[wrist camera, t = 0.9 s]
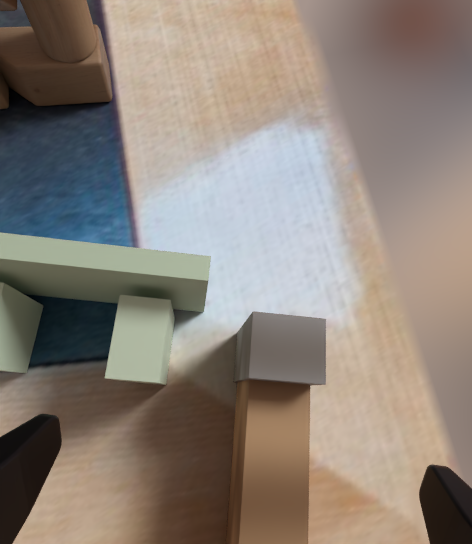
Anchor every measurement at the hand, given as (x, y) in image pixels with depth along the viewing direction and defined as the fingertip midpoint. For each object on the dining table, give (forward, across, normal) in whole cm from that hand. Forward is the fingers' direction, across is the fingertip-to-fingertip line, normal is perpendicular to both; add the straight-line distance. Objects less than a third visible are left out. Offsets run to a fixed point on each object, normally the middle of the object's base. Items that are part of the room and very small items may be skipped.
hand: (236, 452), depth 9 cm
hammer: (+10, -1, +10) cm, 14 cm away
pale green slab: (+12, +10, +5) cm, 16 cm away
